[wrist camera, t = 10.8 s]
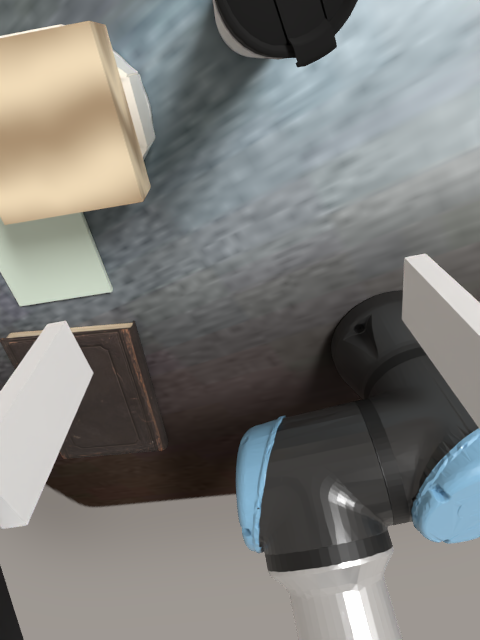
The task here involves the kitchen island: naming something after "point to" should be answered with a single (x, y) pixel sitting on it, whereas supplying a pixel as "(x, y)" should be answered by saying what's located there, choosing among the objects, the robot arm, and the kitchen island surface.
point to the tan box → (65, 126)
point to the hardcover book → (107, 393)
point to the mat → (51, 260)
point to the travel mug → (282, 27)
